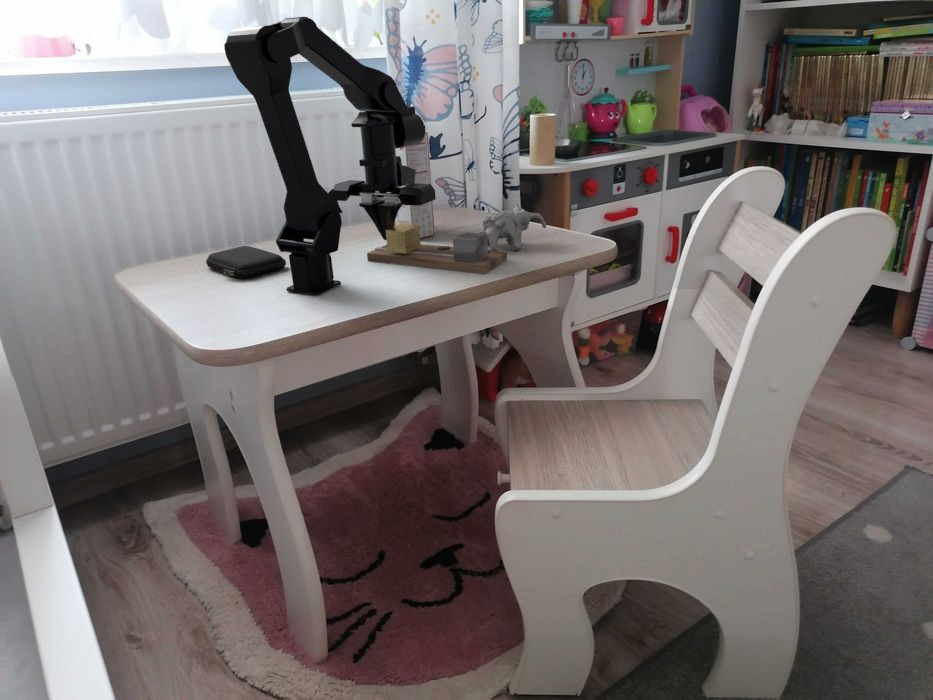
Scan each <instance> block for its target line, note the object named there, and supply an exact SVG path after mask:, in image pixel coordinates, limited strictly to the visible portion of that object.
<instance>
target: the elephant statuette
mask: <svg viewBox="0 0 933 700" xmlns="http://www.w3.org/2000/svg"><path fill="white" fill-rule="evenodd" d="M534 219H538V220H539V221H540V223H541V227H542V229H543V228H544V229H546V228H547V223H546V222H545V220H544V217H543V216H542V215H541V213H537V212H529V211H527V210H526V209H523V208H522V207H521V206H519V205H518V203H516V204H515V205H514V207H513V208H512V209H509V210H503V209H502V210H501V211H498V212H493V213H490V215H487V216H486V217H485V218H484V219H483V220H482V221H481V222H482V227H483V228H482V232H486V234H487V245H488V246H490V250H492V251H500V246H499V242H498V241H499V240H501V239H502V240H503V239H504V240H505V242H506V243H507V244H508V245H511V246H512V249H513V251H515V252H518V251H519V250H521V248H522V244H521V242H522V232H524V231H526V230H527V229H528V228H529V224H530V221H531V220H534Z"/></svg>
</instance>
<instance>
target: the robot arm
mask: <svg viewBox="0 0 933 700" xmlns="http://www.w3.org/2000/svg"><path fill="white" fill-rule="evenodd" d="M224 52H225V57H226V59H227V61H228V63H229V65H230V67H231V68H232V70H233V73H234V75H235V76H236V79H237V80H238V81H239V82H240V84H241V85H242V86H243V87H244V88H245V89H246V91H248V92H249V94H250V95H251V96H252V97H253V98H254V100H255V103H256V105H257V108H258V111H259V114H260V116H261V120H262V122H263V123H262V124H263V125H264V128H265V131H266V134H267V137H268V140H269V142H270V146H271V148H272V151H273V154H274V157H275V160H276V162H277V166H278V168H279V172H280V174H281V176H282V180H283V183H284V186H285V188H286V195H285V199H284V204H283V212H284V216H285V222H284V224H283V225H282V228H281V230H280V231H279V233H278V235H277V238H276V240H275V243H276V245H277V247H278V249H279V252H281V253H290V254H289V255H288V260H289V265H290V272H291V279H292V285H290V286H287V287H286V291H287V292H290V293H291V292H292V293H298V294H306V295H311V296H312V295H313V296H318V295H321V294H323V293H326V292H328V291H329V290H331V289H333V288H336V287H338V286H339V285H341V284H342V282H341V280H336V279H334V278H335V277H334V269H333V262H332V255H331V254H332V253H335V252H337V251H339V244H340V237H341V231H342V230H341V229H342V226H343V223H342V220H343V219H342V215H341V214H342V213H343V210H342V208H341V207H340V205H339V202H347V201H348V200H349V198H350V197H351V196H352V197H353V196H354V197H360V199H361V200H360V201H361V202H360V203H358V206H359V207H360V208H363V209H364V210H365V212H366V213H367V215H368V216H369V218H370V219H371V221H372V222H373V224H374V226H375V227H376V229H377V231H378V232H379V235H380V236H381V237H382V239H383V240H384V241H387V240H386V230H387V229H389V228H392V227H394V223H395V219H396V216H397V214H398V211H399V209H400V208H401V206H402V205H414V206H418V205H423V204H425V203H428V202H431V201H433V202H434V201H435V200H436V199H437V198H436V190H435V187H433V185H432V183H431V184H419V183H415V175H416V170H415V169H412V168H410V167H407V166H403V165H402V162H401V158H400V156H396V150H395V148H401V147H406V146H411V145H416V144H419V143H420V142H421V141H422V140H423V139H424V137H425V132H426V129H427V128H426V125H425V123H424V121H423V119H422V117H421V116H420V115H418V114H417V113H416V107H415V106H408V105H407V103H406V102H405V100H404V98H403V96H402V94H401V93H400V90H399V89H398V87H397V83H396V81H395V79H394V78H393V77H392V76H391V75H390V74H387V73H385V72H383V71H382V70H379V69H378V68H374V67H369V66H367V65H365V64H362V63H361V62H360V61H359V60H357V59H356V58H355V57H354V56H353V55H352V54H350V53H349V52H348V51H347V50H346V49H344V48H343V47H342V46H341V45H339V44H338V43H337V42H336V41H335V40H334V39H332V38H331V37H330V36H329V35H328V34H327V33H326V32H325V31H323V30H322V29H320V28H319V27H318V25H317V23H316V22H315V21H314V20H313V19H312V18H309V17H308V16H297V17H296V16H294V17H286V18H284V19H282V20H280V21H277V22H275V23H272V24H269V25H267V24H266V25H258V26H257V25H255V26H247V27H246V26H245V27H235V28H234V29H232V30H231V31H230V32H229V33H228V35H227V37H226V42H224ZM297 55H300V56H301V57H302V58H304V59H305V60H306V61H308V62H309V63H310V64H312V65H313V66H315V68H317V69H318V70H319V71H321V72H322V73H324V74H325V75H326V76H327V77H328V78H330V79H331V80H333V81H334V82H335V83H336V84H338V85H339V86H340V87H341V88H342V90H343V94H344V97H345V98H346V99H347V101H349V103H350V104H351V105H352V106H353V107H354V108H355V109H356V110H358V111H359V112H358V114H357V115H356V118H354V119H353V120H352V122H351V127H352V128H360V136H361V146H362V148H361V149H362V156H363V157H362V159H359V162H358V163H359V167H363V168H364V177H365V178H364V179H365V180H356V179H355V180H352V179H349V180H344V181H342V182H338V183H334V186H333V188H324V187H323V186H322V185H321V184H320V182H319V180H318V178H317V174H316V172H315V169H314V165H313V162H312V159H311V156H310V153H309V150H308V146H307V144H306V140H305V138H304V135H303V131H302V128H301V125H300V122H299V121H300V120H299V119H298V116H297V113H296V109H295V106H294V102H293V100H292V97H291V93H290V88H289V87H290V83H291V78H292V72H293V65H292V60H291V58H293V57H295V56H297ZM401 186H405V187H402V188H399V187H401ZM386 192H390V193H386ZM305 240H312V241H305Z"/></svg>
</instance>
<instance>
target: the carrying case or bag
mask: <svg viewBox="0 0 933 700" xmlns="http://www.w3.org/2000/svg"><path fill="white" fill-rule="evenodd" d="M205 264H206V266H207V267H208V268H211V269H213V270H214V271H218V272H221V273H222V274H224V275H225V276H227V277H228V276H230V277H231V276H232V277H233V278H234V277H235V278H238V279H242V280H251V279H256V278H258V277H263V276H267V275H270V274H274V273H277V272H280V271H283V270H284V268H285V267H286V266H287V261H286V259H285V258H283V257H282V256H281V255H280V254H278V253H275V252H270V251H268V250H263V249H262V248H261V249H260V248H258V247H253V246H249V245H241V246H237V247H233V248H229V249H224V250H220V251H216V252H213V253H210V254H208V257H207V258H206V260H205Z"/></svg>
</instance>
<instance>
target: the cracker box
mask: <svg viewBox="0 0 933 700" xmlns="http://www.w3.org/2000/svg"><path fill="white" fill-rule="evenodd" d="M429 143H430V142H429V132H428V131H425V137H424V139H423V140H422V141H421V142H420V143H419V144H416V145H411V146H406V147H401V148H395V150H396V156H400V158H401V162H402V165H403V166H407V167H410V168H412V169H415V170H416V175H415V183H419V184H431V185H432V173H431V161H430V160H431V159H430V158H431V157H430V144H429ZM402 187H405V186H401V187H399V188H402ZM386 193H390V192H386ZM433 202H434V200H433V201H431V202H428V203H425V204H423V205H418V206H414V205H402V206H401V208H400V209H399V211H398V214H397V216H396V219H395V223H394V226H397V225H399V224H410V225H413V224H420V240H422V239H424V238H429V237H433V236H435V234H436V233H435V219H434V217H435V216H434V204H433Z"/></svg>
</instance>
